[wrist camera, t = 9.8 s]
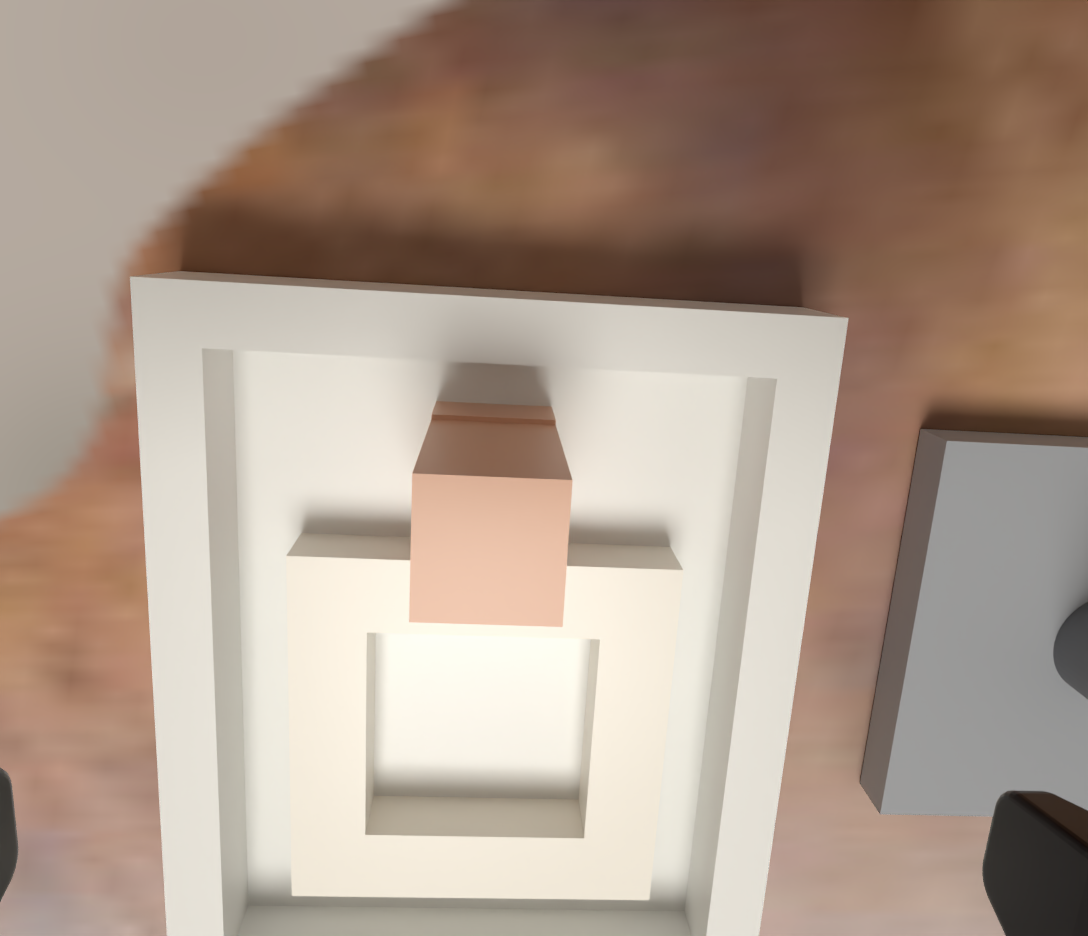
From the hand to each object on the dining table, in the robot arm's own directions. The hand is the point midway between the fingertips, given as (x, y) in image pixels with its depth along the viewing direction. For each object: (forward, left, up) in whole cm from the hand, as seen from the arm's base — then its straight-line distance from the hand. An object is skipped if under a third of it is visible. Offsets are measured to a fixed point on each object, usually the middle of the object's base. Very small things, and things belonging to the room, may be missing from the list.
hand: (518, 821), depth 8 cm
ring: (0, +4, -11) cm, 12 cm away
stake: (-14, +3, -12) cm, 18 cm away
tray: (0, +4, -12) cm, 12 cm away
